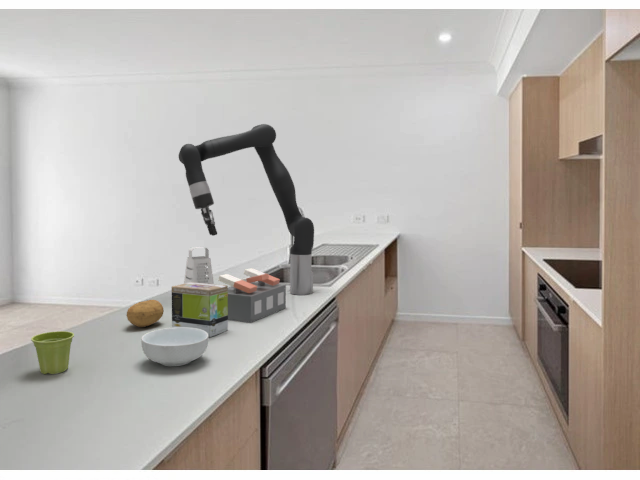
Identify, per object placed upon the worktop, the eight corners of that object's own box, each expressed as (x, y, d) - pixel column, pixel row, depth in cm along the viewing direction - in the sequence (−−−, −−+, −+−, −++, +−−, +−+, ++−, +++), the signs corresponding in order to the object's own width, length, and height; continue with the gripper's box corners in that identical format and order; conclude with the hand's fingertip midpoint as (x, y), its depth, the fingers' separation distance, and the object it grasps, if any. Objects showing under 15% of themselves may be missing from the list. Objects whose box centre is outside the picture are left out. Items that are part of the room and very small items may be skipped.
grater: (215, 295, 226) (215, 248, 224) (191, 297, 220) (191, 249, 218) (205, 291, 234) (205, 245, 232) (182, 293, 228) (182, 247, 227)
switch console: (257, 301, 215) (257, 275, 214) (293, 305, 208) (293, 278, 207) (211, 317, 187) (211, 287, 186) (251, 322, 180) (251, 291, 179)
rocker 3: (250, 272, 206) (251, 268, 206) (278, 283, 201) (280, 279, 201) (243, 274, 202) (244, 269, 201) (272, 285, 197) (273, 281, 197)
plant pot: (41, 380, 124) (40, 344, 124) (26, 370, 131) (25, 336, 130) (81, 370, 131) (80, 336, 131) (65, 361, 138) (64, 329, 137)
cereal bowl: (127, 367, 135) (126, 339, 134) (168, 349, 150) (168, 324, 149) (184, 376, 129) (183, 347, 128) (220, 356, 144) (220, 331, 143)
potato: (117, 329, 169) (117, 304, 168) (146, 319, 182) (146, 296, 182) (142, 333, 166) (142, 307, 165) (170, 322, 179) (170, 299, 178)
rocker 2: (239, 284, 199) (238, 279, 199) (269, 278, 193) (268, 273, 193) (232, 286, 194) (231, 281, 194) (262, 280, 189) (261, 275, 189)
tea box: (228, 330, 171) (228, 284, 169) (209, 338, 161) (209, 290, 160) (191, 324, 177) (190, 280, 175) (170, 331, 168) (170, 285, 166)
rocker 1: (226, 278, 191) (227, 273, 191) (256, 291, 186) (257, 286, 186) (218, 280, 187) (219, 275, 186) (248, 293, 182) (250, 288, 182)
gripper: (208, 190, 201) (221, 231, 201) (212, 194, 215) (224, 232, 215) (189, 195, 200) (202, 237, 200) (194, 199, 214) (206, 238, 214)
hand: (213, 234), depth 207 cm, fingers open, 8 cm apart
